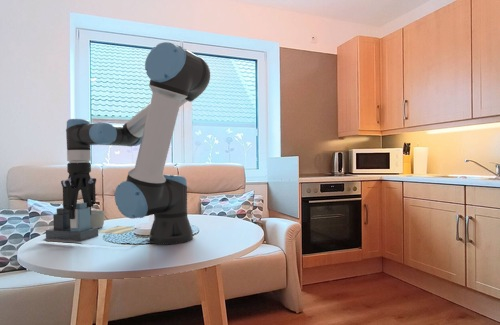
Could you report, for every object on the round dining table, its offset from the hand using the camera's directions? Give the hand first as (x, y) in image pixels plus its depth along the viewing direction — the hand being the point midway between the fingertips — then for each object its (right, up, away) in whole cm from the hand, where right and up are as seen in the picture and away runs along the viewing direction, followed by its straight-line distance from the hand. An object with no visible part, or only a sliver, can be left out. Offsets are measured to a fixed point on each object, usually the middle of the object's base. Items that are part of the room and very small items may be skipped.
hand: (80, 226), depth 112 cm
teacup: (-5, -6, +15) cm, 17 cm away
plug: (0, -3, 0) cm, 3 cm away
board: (+9, -5, +12) cm, 16 cm away
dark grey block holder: (-4, -5, +1) cm, 7 cm away
